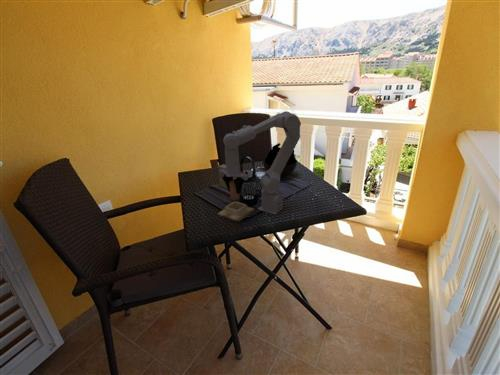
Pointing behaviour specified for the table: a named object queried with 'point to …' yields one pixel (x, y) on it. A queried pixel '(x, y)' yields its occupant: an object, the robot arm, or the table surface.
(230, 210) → the socket holder
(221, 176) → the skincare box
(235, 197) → the peg
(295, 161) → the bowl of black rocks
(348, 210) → the table surface
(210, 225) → the table surface
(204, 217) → the table surface
